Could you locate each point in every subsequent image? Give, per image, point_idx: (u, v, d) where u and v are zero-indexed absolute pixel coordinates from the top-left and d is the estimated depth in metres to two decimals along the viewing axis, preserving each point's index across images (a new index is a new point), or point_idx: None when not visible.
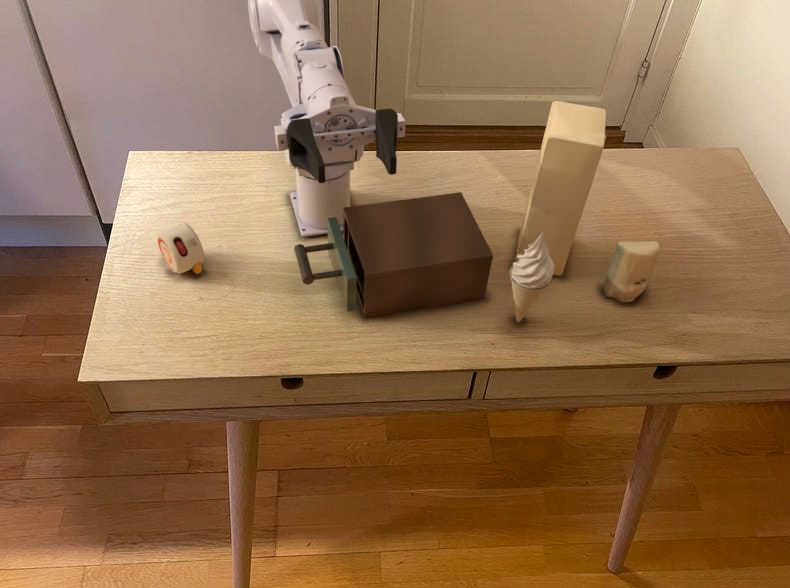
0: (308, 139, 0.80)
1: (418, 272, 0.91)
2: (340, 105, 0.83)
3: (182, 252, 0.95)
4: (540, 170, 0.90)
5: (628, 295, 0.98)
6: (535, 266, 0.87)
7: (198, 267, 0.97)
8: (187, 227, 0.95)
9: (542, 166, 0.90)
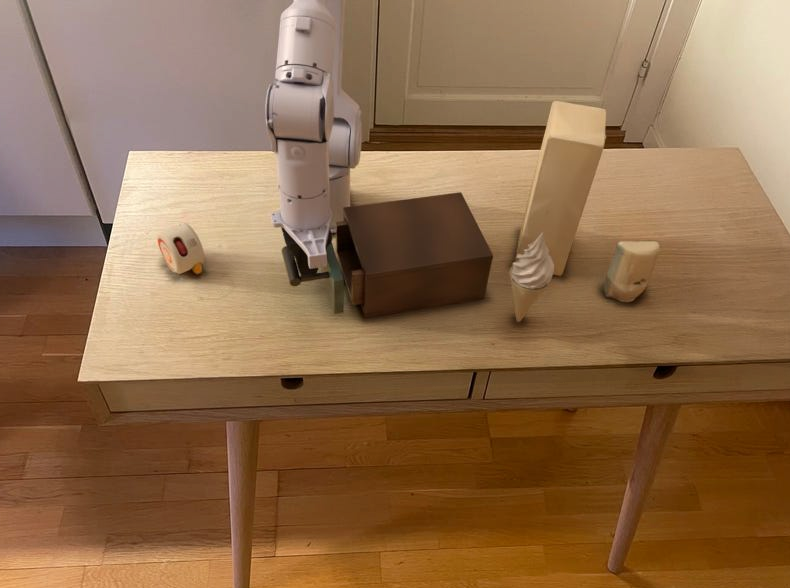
0: None
1: (418, 272, 0.91)
2: None
3: (182, 252, 0.95)
4: (540, 170, 0.90)
5: (628, 295, 0.98)
6: (535, 266, 0.87)
7: (198, 267, 0.97)
8: (187, 227, 0.95)
9: (542, 166, 0.90)
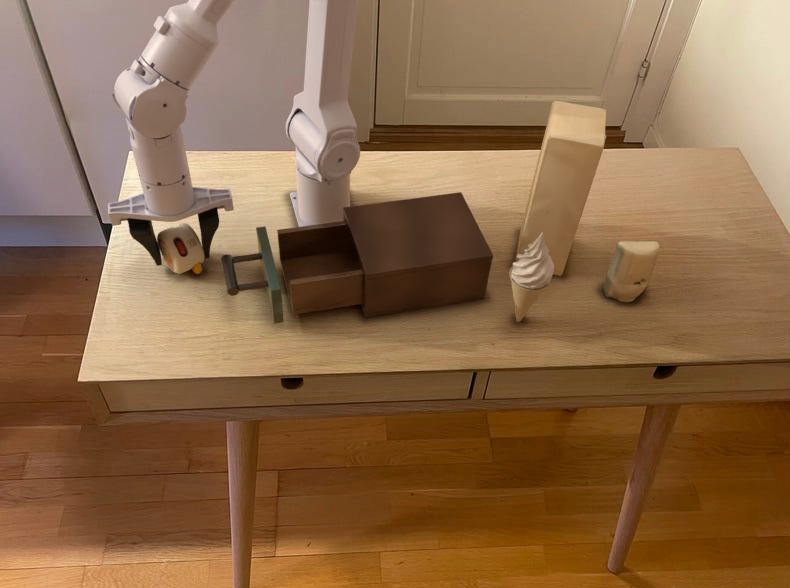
0: None
1: (418, 272, 0.91)
2: None
3: (182, 252, 0.95)
4: (540, 170, 0.90)
5: (628, 295, 0.98)
6: (535, 266, 0.87)
7: (198, 267, 0.97)
8: (187, 227, 0.95)
9: (542, 166, 0.90)
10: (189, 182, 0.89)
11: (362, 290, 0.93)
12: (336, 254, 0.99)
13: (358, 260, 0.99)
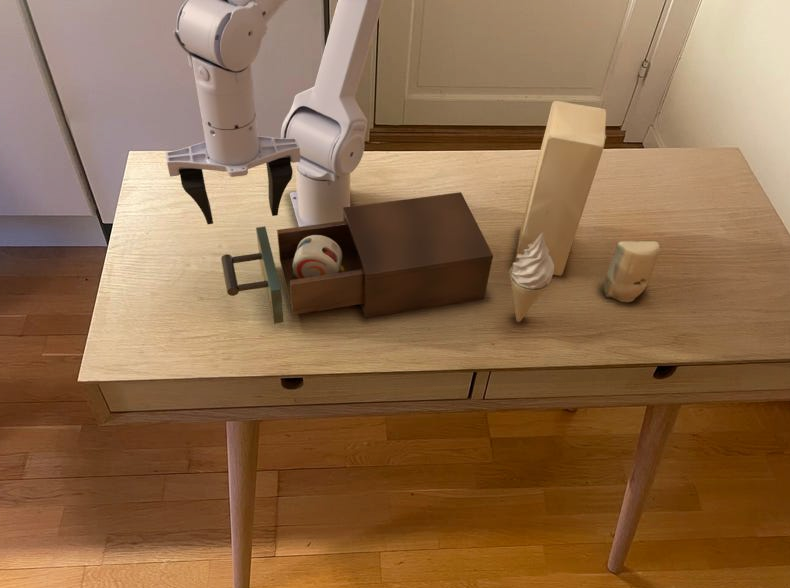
0: (201, 200, 0.85)
1: (418, 272, 0.91)
2: None
3: (334, 258, 0.93)
4: (540, 170, 0.90)
5: (628, 295, 0.98)
6: (535, 266, 0.87)
7: (342, 268, 0.95)
8: (319, 236, 0.93)
9: (542, 166, 0.90)
10: None
11: (362, 290, 0.93)
12: None
13: (358, 260, 0.99)
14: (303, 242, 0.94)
